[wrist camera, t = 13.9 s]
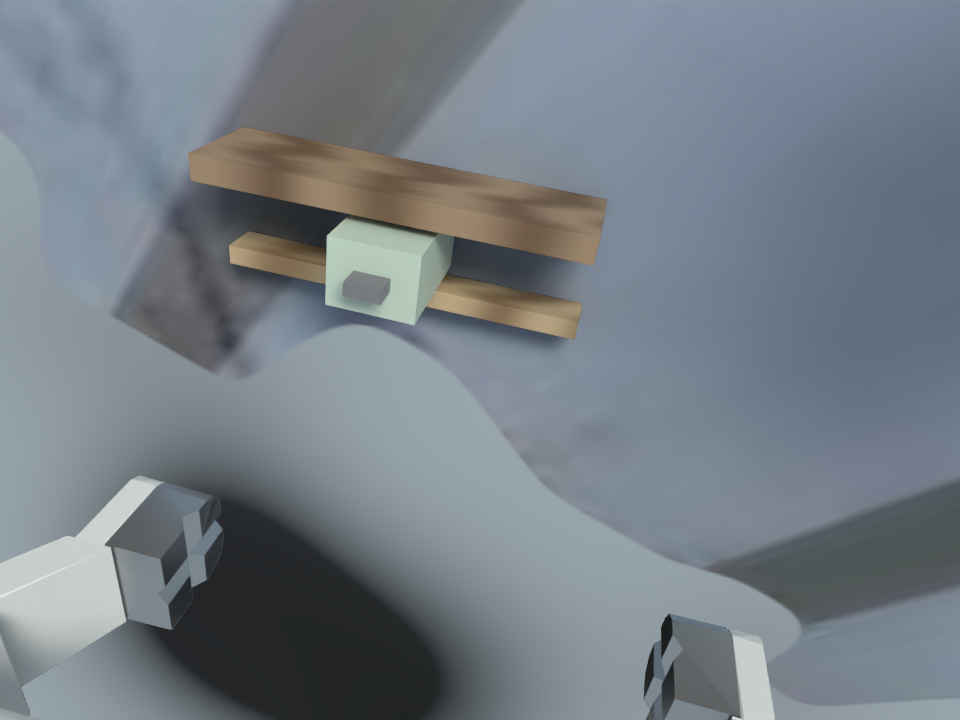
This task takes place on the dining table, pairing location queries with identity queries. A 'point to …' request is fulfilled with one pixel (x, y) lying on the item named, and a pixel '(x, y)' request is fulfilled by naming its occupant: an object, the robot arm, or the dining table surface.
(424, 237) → the cabinet block
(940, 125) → the dining table surface
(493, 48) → the dining table surface
